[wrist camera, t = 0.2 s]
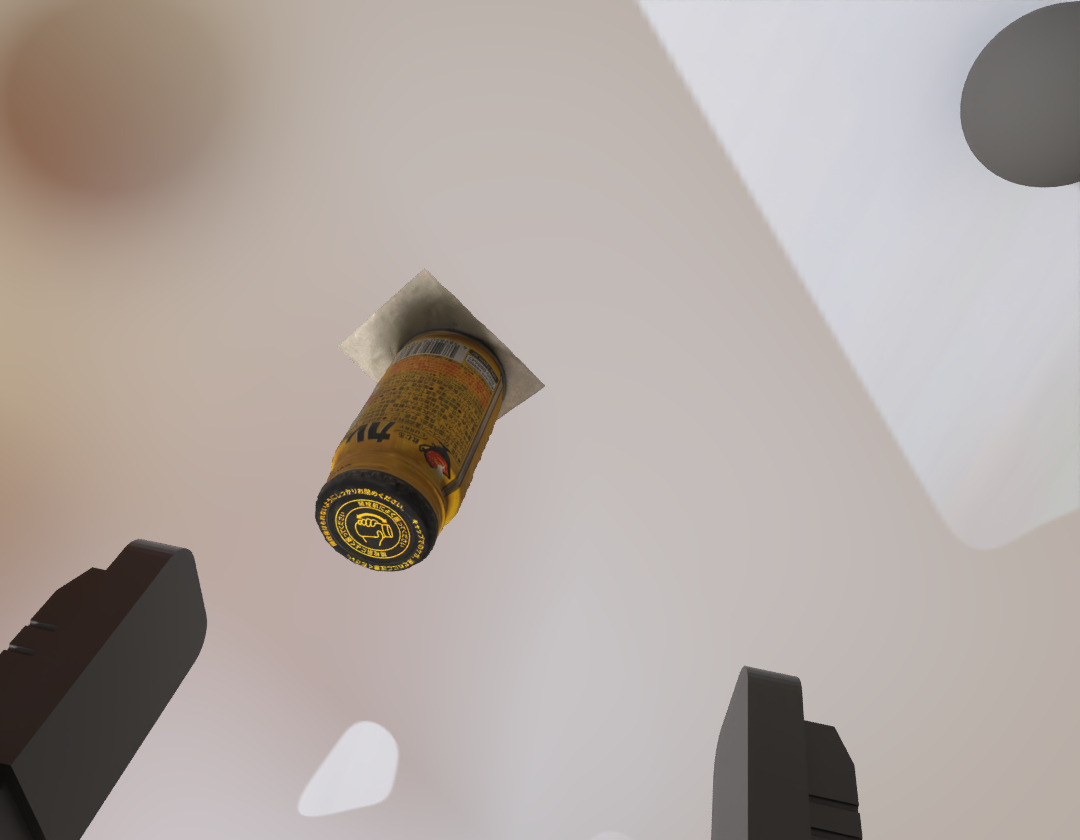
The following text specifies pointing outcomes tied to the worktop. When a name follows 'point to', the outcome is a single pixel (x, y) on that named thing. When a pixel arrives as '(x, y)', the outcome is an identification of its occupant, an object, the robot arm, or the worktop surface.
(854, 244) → the worktop surface
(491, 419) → the condiment
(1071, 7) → the dark gray ball
